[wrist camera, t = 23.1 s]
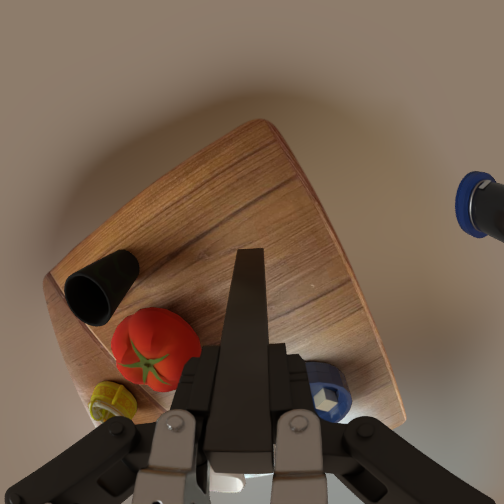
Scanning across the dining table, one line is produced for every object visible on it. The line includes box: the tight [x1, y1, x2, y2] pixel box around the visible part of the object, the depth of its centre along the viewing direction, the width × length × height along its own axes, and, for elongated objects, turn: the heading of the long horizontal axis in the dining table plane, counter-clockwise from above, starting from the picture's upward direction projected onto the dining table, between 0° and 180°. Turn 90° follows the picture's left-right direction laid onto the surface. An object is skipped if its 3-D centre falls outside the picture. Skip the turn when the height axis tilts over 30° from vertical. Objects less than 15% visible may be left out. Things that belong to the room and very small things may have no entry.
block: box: [314, 388, 338, 412], centre depth 46 cm, size 3×3×3 cm
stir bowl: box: [305, 362, 352, 423], centre depth 45 cm, size 17×17×6 cm
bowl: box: [209, 465, 246, 493], centre depth 52 cm, size 15×15×11 cm
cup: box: [64, 250, 140, 326], centre depth 35 cm, size 8×8×12 cm
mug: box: [88, 381, 137, 423], centre depth 45 cm, size 13×11×12 cm
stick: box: [202, 248, 274, 474], centre depth 14 cm, size 2×2×16 cm
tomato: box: [111, 307, 202, 392], centre depth 40 cm, size 14×16×10 cm
